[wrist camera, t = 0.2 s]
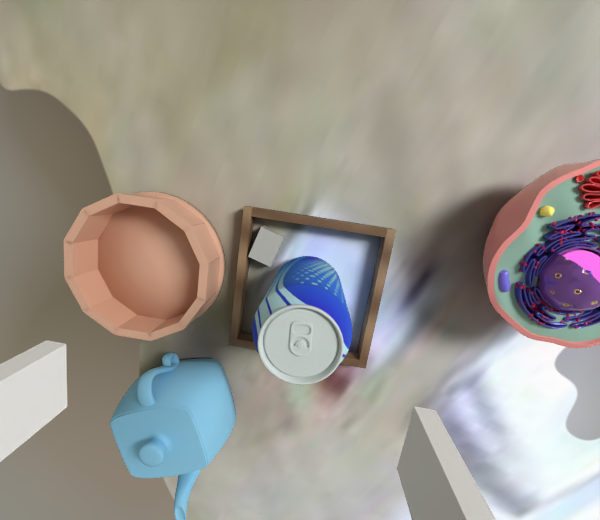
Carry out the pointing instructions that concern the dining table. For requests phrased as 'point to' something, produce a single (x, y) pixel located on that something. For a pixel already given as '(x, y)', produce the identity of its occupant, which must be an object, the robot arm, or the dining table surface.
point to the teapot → (175, 422)
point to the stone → (267, 245)
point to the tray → (386, 233)
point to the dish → (143, 264)
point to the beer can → (303, 322)
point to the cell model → (549, 257)
